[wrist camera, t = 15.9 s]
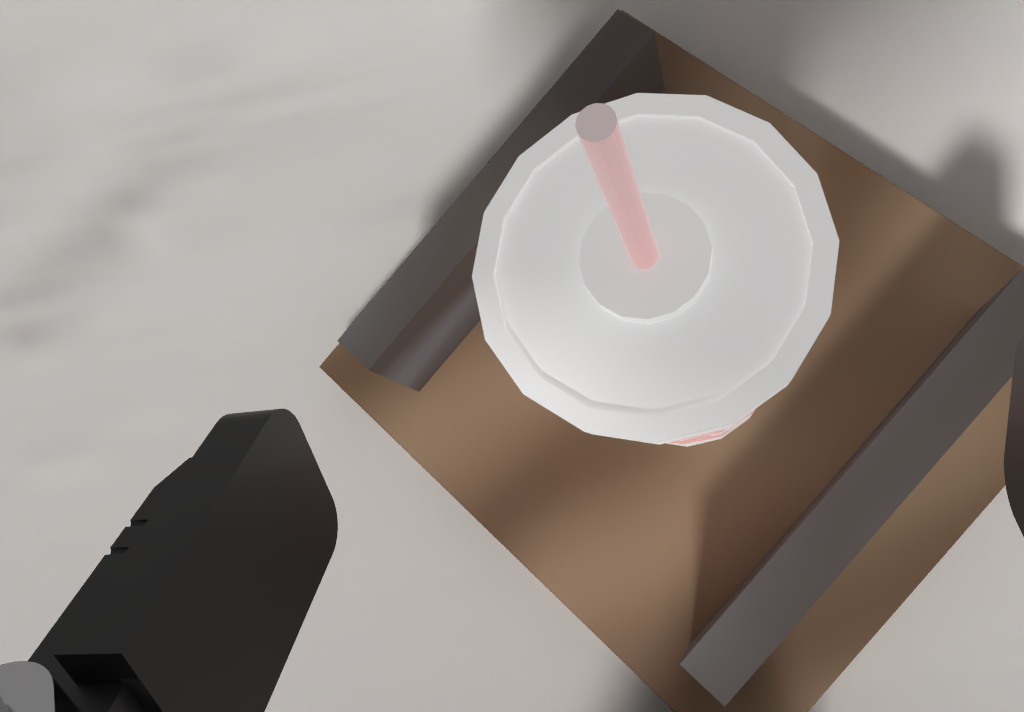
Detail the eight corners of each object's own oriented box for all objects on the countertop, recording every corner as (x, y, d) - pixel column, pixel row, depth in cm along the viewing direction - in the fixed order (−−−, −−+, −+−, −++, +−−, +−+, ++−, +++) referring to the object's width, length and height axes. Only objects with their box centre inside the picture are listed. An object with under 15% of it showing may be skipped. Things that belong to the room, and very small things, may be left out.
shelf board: (341, 375, 27) (256, 342, 22) (628, 37, 27) (603, -69, 22) (746, 765, 22) (747, 830, 17) (1107, 350, 21) (1210, 299, 17)
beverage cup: (525, 371, 24) (250, 170, 10) (673, 208, 24) (583, -205, 10) (692, 525, 22) (612, 517, 9) (854, 349, 22) (1030, 62, 8)
